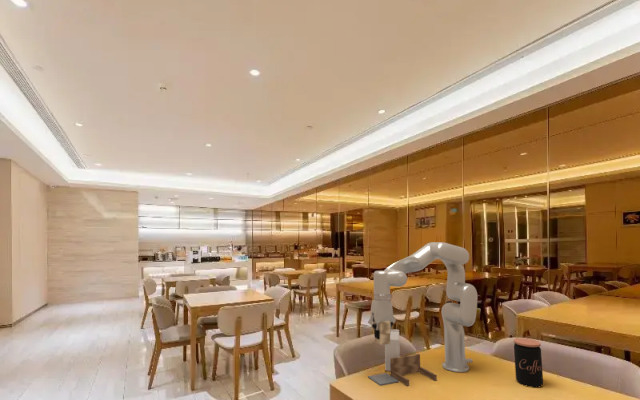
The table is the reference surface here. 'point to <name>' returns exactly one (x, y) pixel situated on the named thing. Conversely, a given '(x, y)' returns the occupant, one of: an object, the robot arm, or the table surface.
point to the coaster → (383, 379)
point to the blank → (384, 333)
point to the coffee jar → (528, 362)
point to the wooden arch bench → (408, 368)
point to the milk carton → (392, 348)
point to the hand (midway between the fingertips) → (382, 337)
